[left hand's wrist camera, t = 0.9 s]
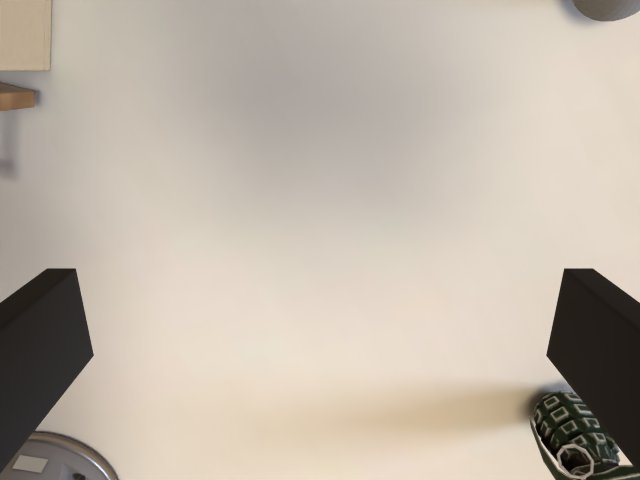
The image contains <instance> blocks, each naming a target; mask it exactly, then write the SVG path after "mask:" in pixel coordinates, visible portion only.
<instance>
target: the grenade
mask: <svg viewBox="0 0 640 480" xmlns="http://www.w3.org/2000/svg"><path fill="white" fill-rule="evenodd" d="M533 414H534V415H535V417H534V421H535V423H536V426H535V428H536V430H537V432H536V430H535V428H534V425H533V423H532V420H531V418H530V415H529V418H530V424H531V429H532V432H533V434H534V437H535V440H536V442H537V445H538V448H539V450H540V453H541V456H542V459H543V461H544V463H545V464H546V466H547V467H548V469H549V471H550V472H551V474H552V475H553V477H554V478H555V480H640V473H639V472H638V471H637V470H636V468H635V467H634V466H633V465H618V464H619V462H620V458H619V456H618V452H619V448H618V446H617V444H616V443H615V442H614V441H613V439H612V438H611V437H610V435H609V434H608V433H607V432H606V430H605V429H604V428H603V427H602V425H601V424H600V423H599V422H598V420H597V419H596V418H595V416H594V415H593V414H592V413H591V411H590V410H589V409H588V408H587V406H586V405H585V404H584V403H583V401H582V400H581V399H580V397H579V396H578V395H574V394H573V393H572V392H571V391H558V392H555V393H550V394H548V395H546V396H545V397H543V398H542V400H541V401H540V402H539V403H537V404H536V406H535V409H534V412H533ZM537 433H538V435H539V436H540V438H541V441H542V443H543V444H544V445H545V447H546V448H547V449H548V451H549V452H550V453H551V454H552V455H553V457H554V458H555V459H556V461H557V462H558V463H559V467H560V468H561V469H562V470H563V471H564V472H565V473H566V474H567V475H566V474H565V473H563V472H562V471H560V470H559V469H558V468H557V467H556V465H555V464H554V462H553V461H552V459H551V458H550V457H549V455H548V454H547V452H546V451H545V449H544V448H543V446H542V445H541V442H540V440H539V437H538V435H537ZM563 466H564V467H563Z"/></svg>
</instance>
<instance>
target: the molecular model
mask: <svg viewBox="0 0 640 480" xmlns="http://www.w3.org/2000/svg"><path fill="white" fill-rule="evenodd" d="M573 2H574V5H575V6H576V8H577V9H578V10H579V11H580V12H581V13H582V14H583V15H585V16H587V17H589V18H591V19H593V20H597V21H616V20H620V19H623V18H626V17H629V16H631V15H633V14H635V13H637V12H638V11H640V0H573Z"/></svg>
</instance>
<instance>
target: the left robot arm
mask: <svg viewBox="0 0 640 480" xmlns="http://www.w3.org/2000/svg"><path fill="white" fill-rule="evenodd" d="M93 356H94V355H93V350H92V345H91V340H90V336H89V331H88V326H87V321H86V316H85V311H84V306H83V302H82V297H81V292H80V287H79V282H78V277H77V272H76V269H46V270H45V271H43V272H42V273H40V274H39V275H38V276H36V277H35V278H34V279H32V280H31V281H30V282H28V283H27V284H25V285H24V286H23V287H21V288H20V289H19V290H17V291H16V292H15V293H13V294H12V295H10V296H9V297H8V298H6V299H5V300H4V301H2V302H1V303H0V473H1V472H2V471H3V470H4V468H5V467H6V466H7V465H8V463H9V462H10V461H11V460H12V458H13V457H14V456H15V454H16V453H17V452H18V451H19V449H20V448H21V447H22V446H23V444H24V443H25V442H26V441H27V439H28V438H29V437H30V435H31V434H32V433H33V432H34V430H35V429H36V428H37V427H38V425H39V424H40V423H41V422H42V420H43V419H44V418H45V416H46V415H47V414H48V413H49V411H50V410H51V409H52V408H53V406H54V405H55V404H56V403H57V401H58V400H59V399H60V397H61V396H62V395H63V394H64V392H65V391H66V390H67V389H68V387H69V386H70V385H71V384H72V382H73V381H74V380H75V378H76V377H77V376H78V375H79V373H80V372H81V371H82V370H83V368H84V367H85V366H86V365H87V363H88V362H89V361H90V359H91V358H92V357H93ZM546 356H547V357H548V358H549V359H550V361H551V362H552V363H553V365H554V366H555V367H556V368H557V370H558V371H559V372H560V373H561V375H562V376H563V377H564V378H565V380H566V381H567V382H568V384H569V385H570V386H571V387H572V389H573V390H574V391H575V392H576V394H577V395H578V396H579V397H580V399H581V400H582V401H583V403H584V404H585V405H586V406H587V408H588V409H589V410H590V411H591V413H592V414H593V415H594V416H595V418H596V419H597V420H598V422H599V423H600V424H601V425H602V427H603V428H604V429H605V430H606V432H607V433H608V434H609V435H610V437H611V438H612V439H613V441H614V442H615V443H616V444H617V446H618V447H619V448H620V449H621V451H622V452H623V453H624V454H625V456H626V457H627V458H628V460H629V461H630V462H631V463H632V465H633V466H634V467H635V468H636V470H637V471H638V472H639V473H640V303H639V302H638V301H636V300H635V299H634V298H632V297H631V296H630V295H628V294H627V293H625V292H624V291H623V290H621V289H620V288H619V287H617V286H616V285H615V284H613V283H612V282H610V281H609V280H608V279H606V278H605V277H604V276H602V275H601V274H600V273H598V272H597V271H595V270H594V269H564V272H563V277H562V282H561V287H560V292H559V297H558V302H557V306H556V311H555V316H554V321H553V326H552V331H551V336H550V340H549V345H548V350H547V355H546Z"/></svg>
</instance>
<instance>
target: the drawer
mask: <svg viewBox="0 0 640 480" xmlns="http://www.w3.org/2000/svg"><path fill="white" fill-rule="evenodd" d="M29 107H34V91H32V90H27V89H23V88H19V87H15V86H10V85H6V84H2V83H0V111H5V110H13V109H21V108H29Z"/></svg>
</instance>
